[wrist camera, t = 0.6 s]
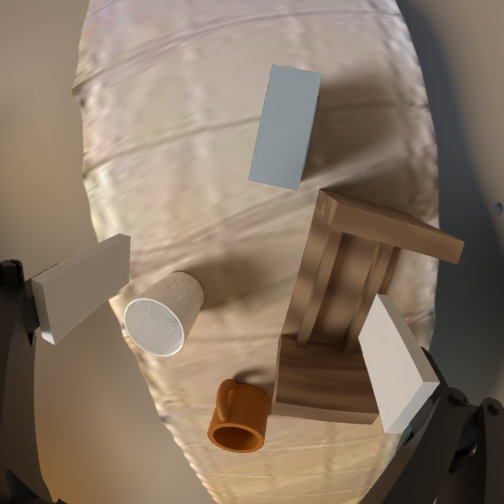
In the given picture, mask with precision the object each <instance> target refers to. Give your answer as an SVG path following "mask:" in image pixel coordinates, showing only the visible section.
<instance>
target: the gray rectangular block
mask: <svg viewBox="0 0 504 504" xmlns="http://www.w3.org/2000/svg"><path fill="white" fill-rule="evenodd" d="M321 76H322V74H320V73H315V72H311V71H306V70H301V69H296V68H291V67H285V66H280V65H273V64H272V69H271V73H270V78H269V82H268V87H267V92H266V96H265V101H264V106H263V110H262V115H261V120H260V125H259V129H258V134H257V139H256V144H255V149H254V154H253V159H252V164H251V169H250V174H249V179H248V180H250V181H255V182H260V183H265V184H269V185H274V186H278V187H283V188H287V189H292V190H296V191H298V189H299V185H300V180H301V175H302V173H304V171H305V166H306V161H307V157H308V152H309V147H310V142H311V138H312V133H313V128H314V123H315V118H316V113H317V107H318V102H319V96H318V92H319V87H320V81H321Z"/></svg>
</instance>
